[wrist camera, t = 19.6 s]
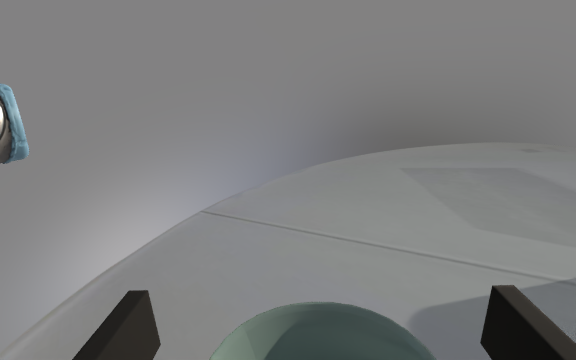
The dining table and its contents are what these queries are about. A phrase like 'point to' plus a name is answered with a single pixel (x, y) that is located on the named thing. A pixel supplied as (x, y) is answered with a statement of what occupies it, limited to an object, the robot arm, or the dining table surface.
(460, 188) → the dining table surface
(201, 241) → the dining table surface
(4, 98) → the robot arm
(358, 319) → the cup
